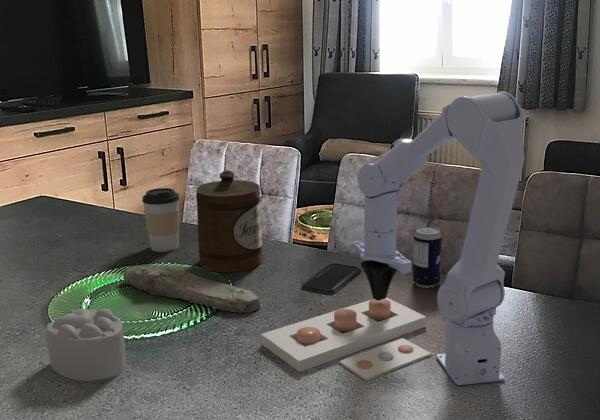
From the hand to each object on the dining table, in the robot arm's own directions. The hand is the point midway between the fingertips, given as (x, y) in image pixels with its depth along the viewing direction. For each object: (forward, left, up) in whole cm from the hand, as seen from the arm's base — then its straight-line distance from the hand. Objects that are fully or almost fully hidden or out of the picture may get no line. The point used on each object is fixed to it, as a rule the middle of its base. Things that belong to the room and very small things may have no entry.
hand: (379, 298), depth 126 cm
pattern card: (-13, +3, -5) cm, 15 cm away
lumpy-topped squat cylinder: (-5, +51, -5) cm, 52 cm away
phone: (+24, +4, -6) cm, 25 cm away
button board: (-3, +7, -5) cm, 9 cm away
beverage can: (+17, -15, -5) cm, 23 cm away
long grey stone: (+22, +35, -6) cm, 42 cm away
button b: (-3, +7, -3) cm, 9 cm away
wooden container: (+40, +25, -5) cm, 47 cm away
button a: (0, 0, -3) cm, 3 cm away
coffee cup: (+54, +41, -5) cm, 68 cm away
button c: (-7, +15, -5) cm, 17 cm away
